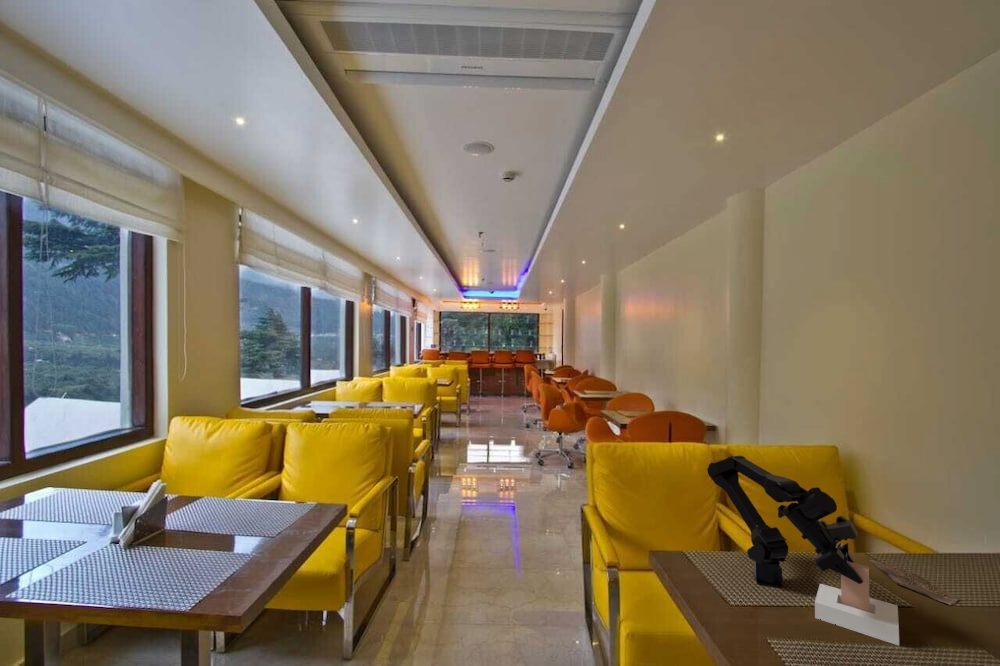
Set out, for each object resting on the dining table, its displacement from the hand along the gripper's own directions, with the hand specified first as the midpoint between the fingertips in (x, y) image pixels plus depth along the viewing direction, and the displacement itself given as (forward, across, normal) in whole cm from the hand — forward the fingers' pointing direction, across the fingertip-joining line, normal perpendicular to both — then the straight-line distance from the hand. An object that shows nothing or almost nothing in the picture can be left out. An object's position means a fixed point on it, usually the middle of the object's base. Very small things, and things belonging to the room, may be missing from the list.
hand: (861, 580), depth 111 cm
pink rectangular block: (+4, 0, +6) cm, 7 cm away
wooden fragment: (+14, +34, +1) cm, 37 cm away
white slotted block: (+6, 0, +8) cm, 10 cm away
